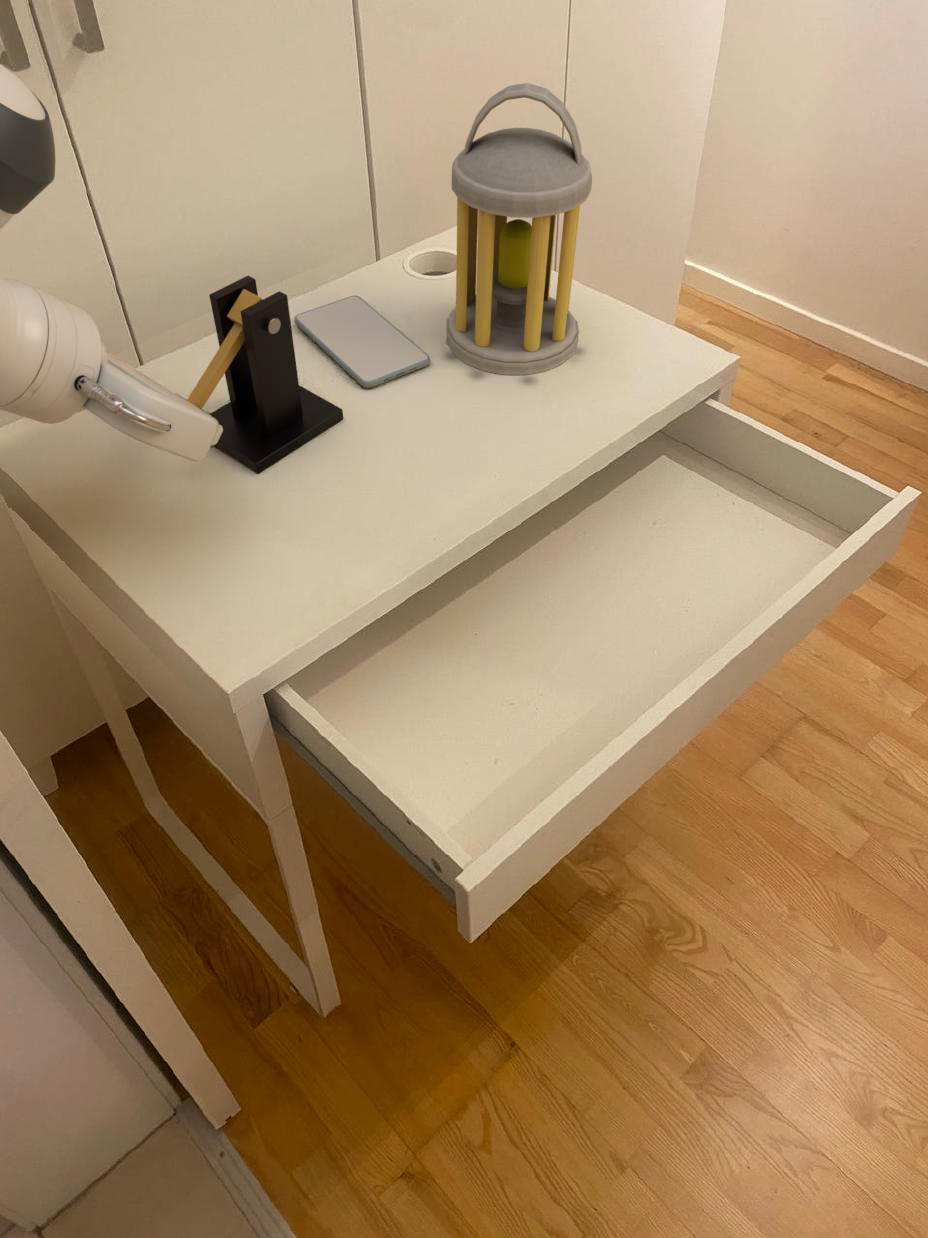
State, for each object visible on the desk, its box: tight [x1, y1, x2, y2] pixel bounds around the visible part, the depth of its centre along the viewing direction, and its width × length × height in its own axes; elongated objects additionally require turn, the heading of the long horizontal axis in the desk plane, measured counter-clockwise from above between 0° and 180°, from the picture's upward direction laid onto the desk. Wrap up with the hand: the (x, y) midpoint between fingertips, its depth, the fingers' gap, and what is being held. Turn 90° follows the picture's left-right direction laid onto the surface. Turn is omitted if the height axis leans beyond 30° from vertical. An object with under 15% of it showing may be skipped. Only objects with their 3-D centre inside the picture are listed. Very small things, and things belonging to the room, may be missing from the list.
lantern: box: [445, 82, 593, 376], centre depth 94 cm, size 14×14×25 cm
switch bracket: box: [209, 275, 344, 474], centre depth 87 cm, size 11×9×14 cm
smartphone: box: [293, 295, 431, 389], centre depth 101 cm, size 8×1×15 cm
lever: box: [174, 289, 264, 417], centre depth 83 cm, size 12×5×2 cm
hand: (178, 410), depth 81 cm, fingers open, 8 cm apart
